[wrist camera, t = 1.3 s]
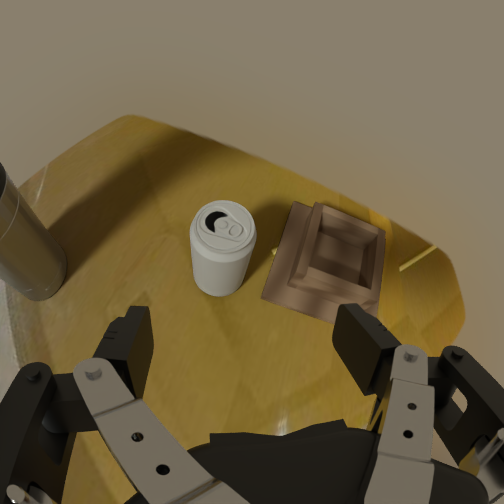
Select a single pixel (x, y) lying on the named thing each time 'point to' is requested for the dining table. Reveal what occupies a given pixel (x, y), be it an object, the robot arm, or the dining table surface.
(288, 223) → the well
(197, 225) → the beverage can
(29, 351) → the dining table surface
